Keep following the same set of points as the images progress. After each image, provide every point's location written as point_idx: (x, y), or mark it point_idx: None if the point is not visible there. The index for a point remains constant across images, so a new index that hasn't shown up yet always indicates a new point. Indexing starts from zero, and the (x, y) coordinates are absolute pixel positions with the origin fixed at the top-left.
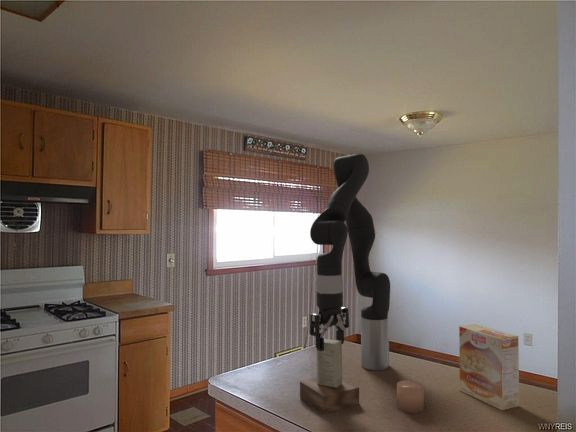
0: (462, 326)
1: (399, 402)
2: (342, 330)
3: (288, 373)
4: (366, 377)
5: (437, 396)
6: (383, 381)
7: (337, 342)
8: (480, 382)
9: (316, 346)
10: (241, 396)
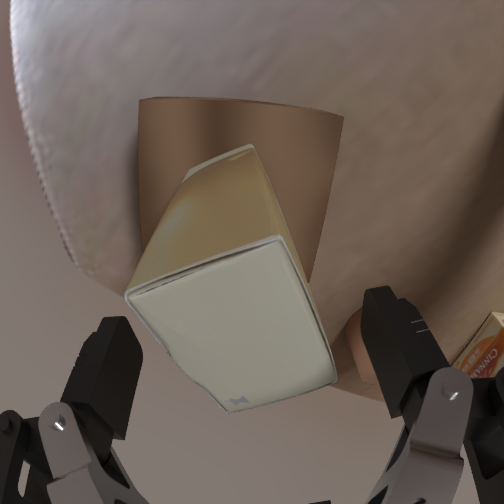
0: None
1: (352, 333)
2: (402, 428)
3: None
4: (473, 128)
5: (453, 312)
6: (476, 185)
7: (268, 402)
8: (477, 373)
9: (85, 351)
10: (14, 20)
